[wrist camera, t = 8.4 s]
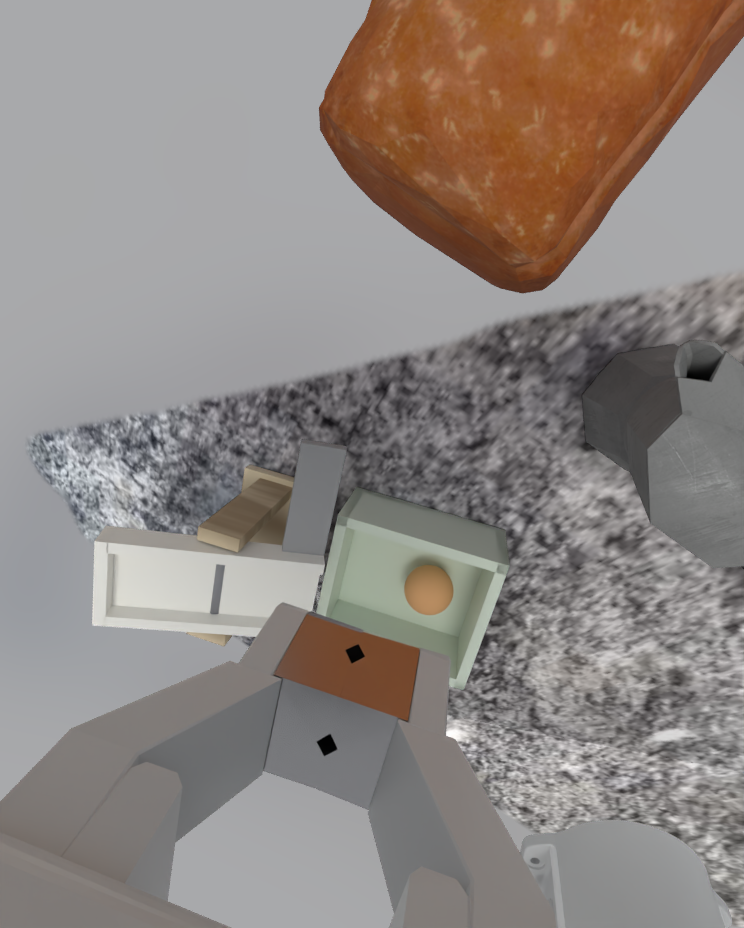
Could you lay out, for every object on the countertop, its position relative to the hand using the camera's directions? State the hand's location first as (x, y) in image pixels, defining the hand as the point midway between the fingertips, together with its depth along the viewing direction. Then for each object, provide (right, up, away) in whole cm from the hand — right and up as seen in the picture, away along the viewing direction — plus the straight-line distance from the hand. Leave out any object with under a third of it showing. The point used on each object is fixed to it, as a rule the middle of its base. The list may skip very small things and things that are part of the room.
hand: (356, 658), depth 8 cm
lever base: (-9, -2, +36) cm, 37 cm away
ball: (+5, -7, +31) cm, 33 cm away
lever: (-10, -1, +26) cm, 28 cm away
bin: (+4, -6, +34) cm, 35 cm away
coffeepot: (+21, +7, +27) cm, 35 cm away
